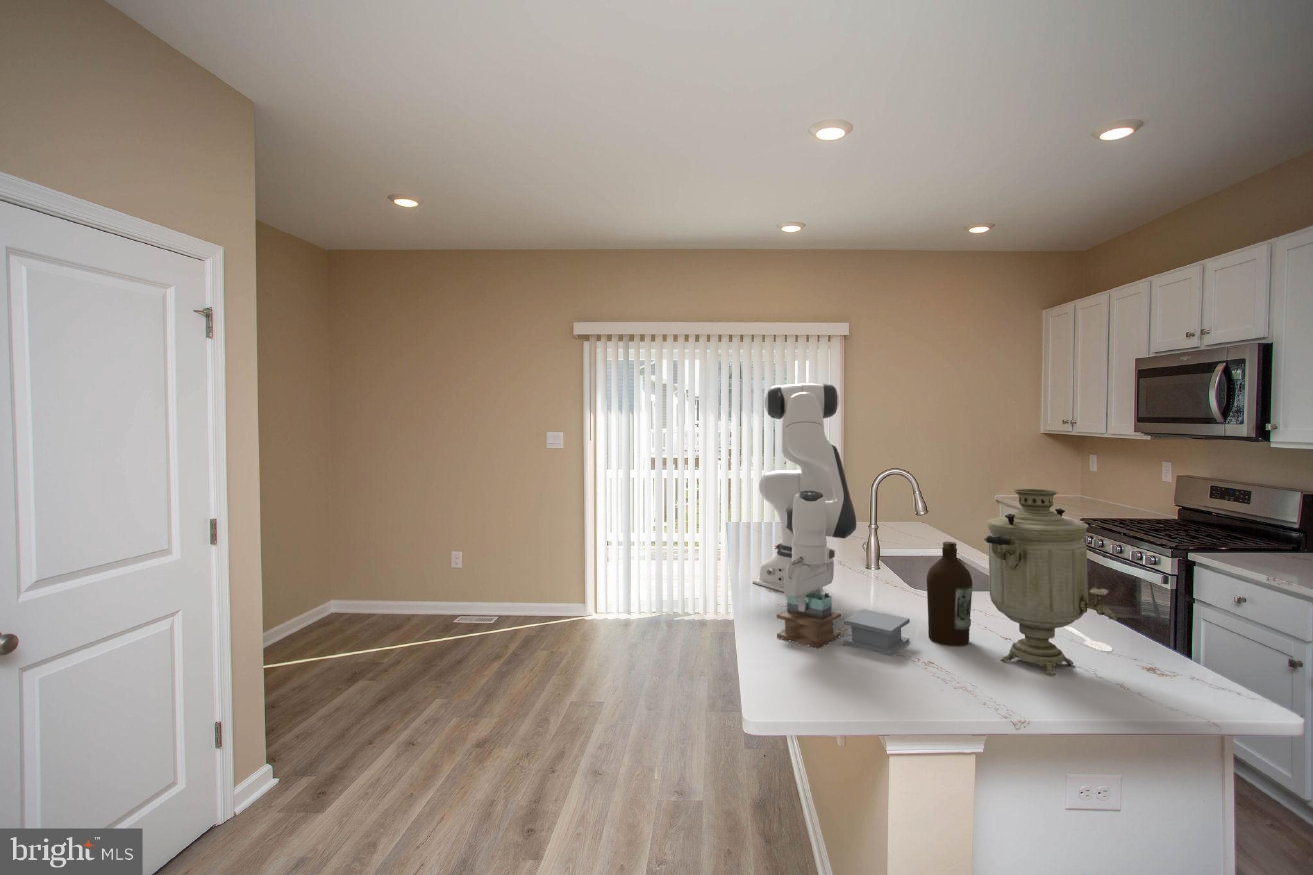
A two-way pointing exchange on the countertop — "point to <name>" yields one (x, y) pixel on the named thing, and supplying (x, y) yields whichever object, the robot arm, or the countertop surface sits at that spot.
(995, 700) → the countertop surface
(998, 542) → the samovar
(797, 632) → the stand
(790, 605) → the block
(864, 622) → the stand
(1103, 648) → the spoon
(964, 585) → the olive oil
